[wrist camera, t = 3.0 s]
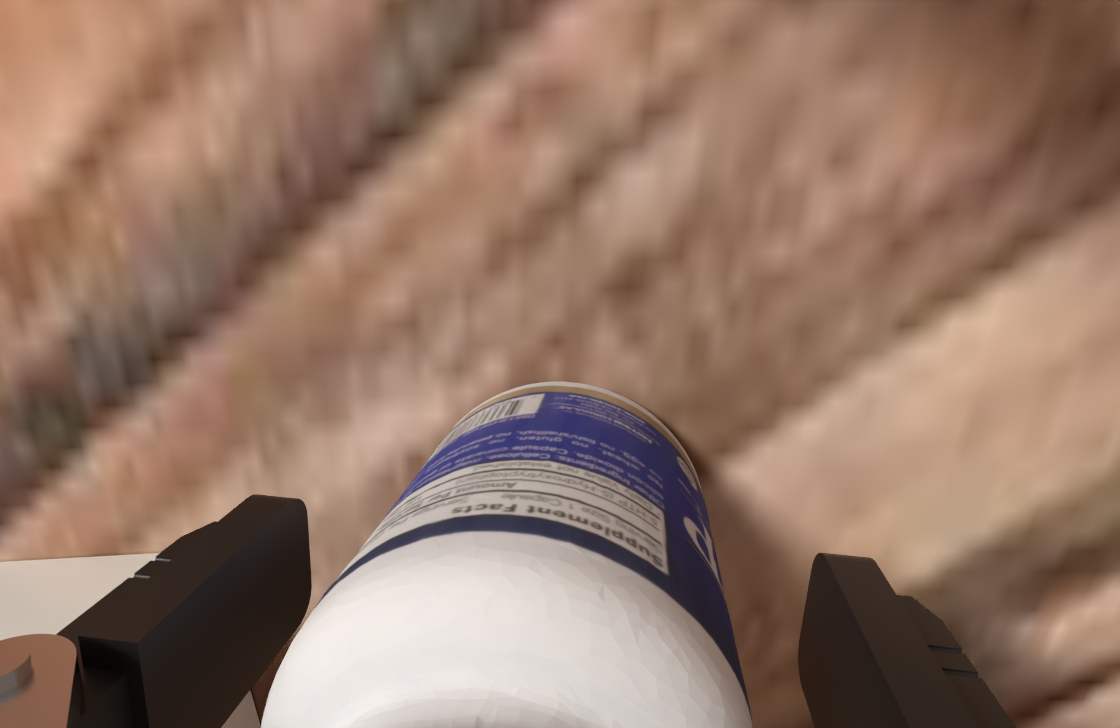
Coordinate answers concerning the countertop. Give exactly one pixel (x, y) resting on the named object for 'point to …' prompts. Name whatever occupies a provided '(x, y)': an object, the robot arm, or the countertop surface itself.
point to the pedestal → (74, 600)
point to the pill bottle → (529, 585)
